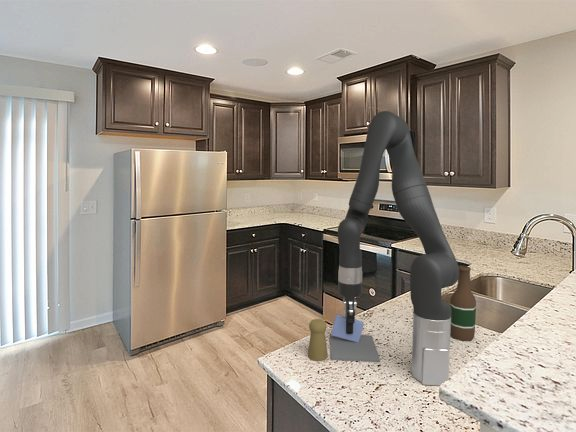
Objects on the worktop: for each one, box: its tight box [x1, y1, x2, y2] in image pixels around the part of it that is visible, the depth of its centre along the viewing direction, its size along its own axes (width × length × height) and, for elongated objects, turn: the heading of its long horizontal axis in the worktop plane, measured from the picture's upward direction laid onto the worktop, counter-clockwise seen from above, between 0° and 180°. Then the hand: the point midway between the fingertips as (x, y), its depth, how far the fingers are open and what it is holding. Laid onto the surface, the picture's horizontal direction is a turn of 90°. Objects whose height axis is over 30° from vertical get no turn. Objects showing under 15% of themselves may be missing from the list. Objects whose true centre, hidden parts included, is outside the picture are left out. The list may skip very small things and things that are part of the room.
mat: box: [329, 333, 381, 363], centre depth 107 cm, size 16×14×1 cm
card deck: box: [330, 313, 365, 343], centre depth 110 cm, size 2×9×6 cm, turn 84°
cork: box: [307, 318, 329, 362], centre depth 102 cm, size 6×6×11 cm
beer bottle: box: [449, 265, 477, 342], centre depth 114 cm, size 8×8×24 cm
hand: (349, 331), depth 111 cm, fingers closed on card deck, 2 cm apart
